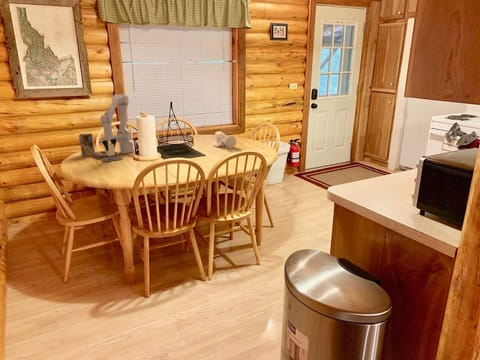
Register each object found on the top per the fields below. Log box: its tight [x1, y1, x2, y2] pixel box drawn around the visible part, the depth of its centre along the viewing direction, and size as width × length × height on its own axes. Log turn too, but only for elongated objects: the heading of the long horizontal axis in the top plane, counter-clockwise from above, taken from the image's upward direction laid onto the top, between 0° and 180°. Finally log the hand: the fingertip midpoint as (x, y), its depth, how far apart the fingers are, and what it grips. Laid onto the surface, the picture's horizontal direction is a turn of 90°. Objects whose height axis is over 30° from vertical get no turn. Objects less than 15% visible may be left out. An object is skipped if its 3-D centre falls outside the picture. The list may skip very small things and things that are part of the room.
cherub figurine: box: [212, 131, 237, 149], centre depth 302 cm, size 13×12×20 cm
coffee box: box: [78, 133, 96, 157], centre depth 279 cm, size 9×6×16 cm
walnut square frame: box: [92, 149, 119, 160], centre depth 279 cm, size 14×12×2 cm
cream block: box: [106, 142, 116, 156], centre depth 268 cm, size 4×4×8 cm
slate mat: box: [100, 156, 123, 163], centre depth 270 cm, size 12×10×1 cm
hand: (110, 150), depth 268 cm, fingers closed on cream block, 4 cm apart
